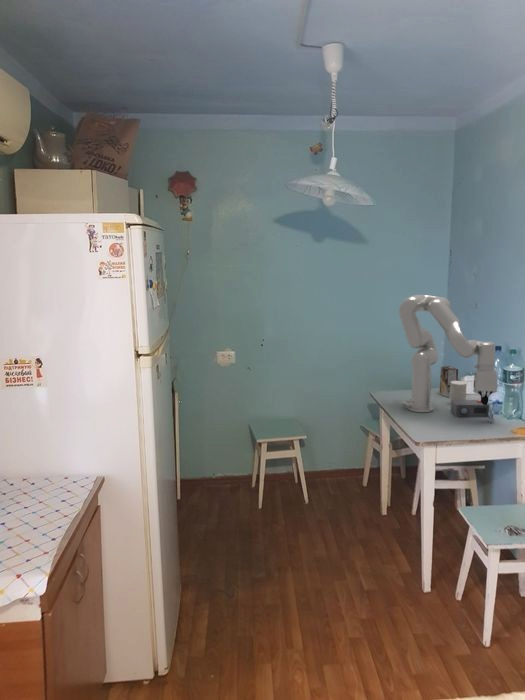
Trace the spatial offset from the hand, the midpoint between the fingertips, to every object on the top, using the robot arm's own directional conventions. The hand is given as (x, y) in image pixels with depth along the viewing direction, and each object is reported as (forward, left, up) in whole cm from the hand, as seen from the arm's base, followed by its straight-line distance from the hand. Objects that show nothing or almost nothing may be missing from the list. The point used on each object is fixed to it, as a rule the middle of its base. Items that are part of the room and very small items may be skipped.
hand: (484, 404), depth 256 cm
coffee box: (-4, +46, -9) cm, 47 cm away
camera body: (-3, +11, -8) cm, 14 cm away
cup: (-4, +28, -9) cm, 29 cm away
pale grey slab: (+4, +1, -8) cm, 9 cm away
